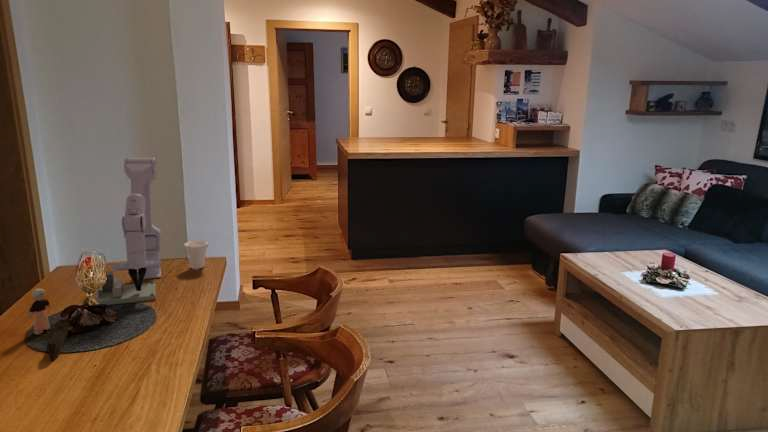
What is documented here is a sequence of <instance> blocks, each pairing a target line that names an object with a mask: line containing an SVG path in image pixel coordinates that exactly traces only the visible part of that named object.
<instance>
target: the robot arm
mask: <svg viewBox="0 0 768 432" xmlns="http://www.w3.org/2000/svg"><path fill="white" fill-rule="evenodd" d="M123 162H124V163H123V165H124V166H123V169H124V173H125V175H126V177H127V178H128V179H129V180H130V194H129V195H128V196H127V197H126V201H125V211H124V212H125V213H124V216H122V218H121V229H122V232H123V237H124V239H125V240H124V241H125V252H126V262H121V263H114V264H112V265H111V268H112V269H111V271H113V272H114V273H115V272H119V271H128V275H129V277H130V278H131V280H132V281H133V284H135V287H136V291H141V286H142V283H143V281H144V279H145V280H146V279H157V278H162V261H161V260H160V256H159V255H160V253H159V252H161V250H162V249H163V236H162V231H161V229H160V228H158V227H156V226H155V225H154V224H153V205H152V182H153V181H155V180H157V177H158V167H157V159H156V158H155V157H154V156H153V157H125V159H124V161H123Z"/></svg>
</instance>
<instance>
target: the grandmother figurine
mask: <svg viewBox="0 0 768 432" xmlns="http://www.w3.org/2000/svg"><path fill="white" fill-rule="evenodd" d="M45 294H46V291H45V289H43V288H39V287H38V288H37V287H36V289H33V290H32V292H31V297H32V298H33V299H34V301H33V303H32V304H31V306H30V307H29V308H30V309H29V310H28V315H27V319H32V318H33V328H34V331H33V334H35V335H42V334H43V333H44V331H43V330H47V331H49V330H50V329H51V326H50V321H49V320H50V319H49V317H48V313H47V310H46V309H51V308H52V305H51V303H50V301H49V300H48V299H45ZM33 315H34V317H33ZM48 329H49V330H48ZM41 333H42V334H41Z"/></svg>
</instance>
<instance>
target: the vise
mask: <svg viewBox="0 0 768 432" xmlns="http://www.w3.org/2000/svg"><path fill="white" fill-rule="evenodd" d="M156 288H157V287H156V282H154V281H150V282H144V283H143V282H142V286H141V291H136V287H135V284H134V283H133V284H123V290H122V296H121V297H113V292H106V293H102V288H101V289H100V290H98V291H96V292H95V294H94V299H95V300H96V301H97V302H98V303H101V304H106V305H105V306H108V305H117V304H118V305H119V304H128V303H129V304H130V303H137V302H146V301H147V302H148V301H155V300H157V293H156V291H157V289H156ZM87 303H88V301H86V304H87Z"/></svg>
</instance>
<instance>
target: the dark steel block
mask: <svg viewBox="0 0 768 432" xmlns="http://www.w3.org/2000/svg"><path fill="white" fill-rule="evenodd" d="M114 274H115V272H113V270H108V271H106V276H107V280H106V283H105V284H104V285H103V286H102V285H101V287H102V293H106V292H113V291H112V288H113V282H114V278H115V275H114Z"/></svg>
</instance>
